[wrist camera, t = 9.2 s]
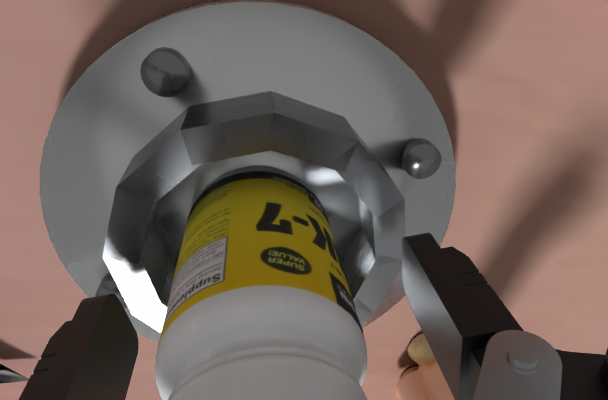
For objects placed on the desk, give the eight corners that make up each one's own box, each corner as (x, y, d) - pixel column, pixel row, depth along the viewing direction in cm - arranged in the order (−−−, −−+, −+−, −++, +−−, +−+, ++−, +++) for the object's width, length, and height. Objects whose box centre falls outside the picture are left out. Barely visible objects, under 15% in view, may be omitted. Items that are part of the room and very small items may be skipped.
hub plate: (37, 304, 17) (-4, 373, 14) (84, -92, 10) (26, -109, 8) (350, 357, 20) (366, 419, 18) (514, 92, 14) (578, 123, 12)
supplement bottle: (352, 219, 15) (453, 466, 8) (261, 295, 16) (275, 568, 9) (252, 132, 13) (263, 360, 6) (158, 227, 14) (67, 513, 7)
